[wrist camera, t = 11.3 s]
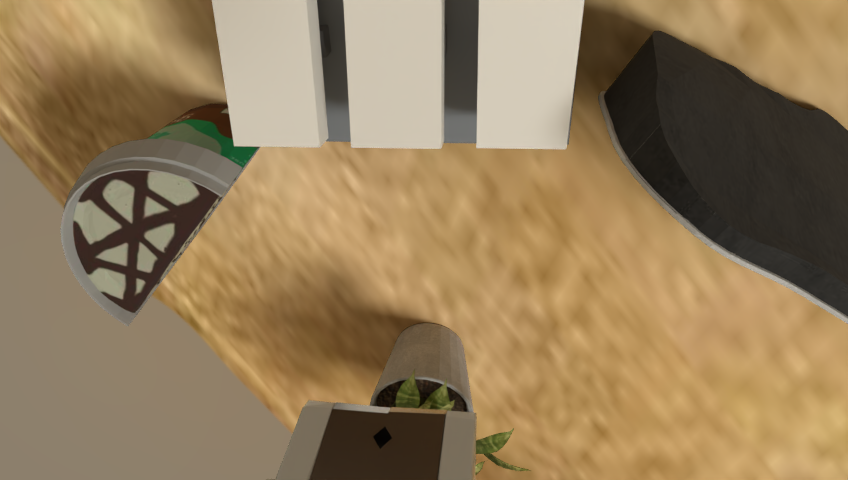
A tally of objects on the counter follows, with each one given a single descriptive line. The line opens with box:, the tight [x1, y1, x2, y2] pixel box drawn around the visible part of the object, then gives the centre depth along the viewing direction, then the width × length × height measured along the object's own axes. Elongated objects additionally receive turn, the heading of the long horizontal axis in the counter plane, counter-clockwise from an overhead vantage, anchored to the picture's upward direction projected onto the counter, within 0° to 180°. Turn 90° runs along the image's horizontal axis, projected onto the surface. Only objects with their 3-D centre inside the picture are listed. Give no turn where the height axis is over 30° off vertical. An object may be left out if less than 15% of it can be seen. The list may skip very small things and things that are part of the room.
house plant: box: [370, 323, 530, 475], centre depth 39 cm, size 14×14×16 cm
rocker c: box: [212, 0, 328, 147], centre depth 26 cm, size 8×4×2 cm, turn 2°
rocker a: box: [476, 0, 584, 149], centre depth 25 cm, size 8×4×2 cm, turn 2°
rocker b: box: [343, 0, 445, 149], centre depth 25 cm, size 8×4×2 cm, turn 2°
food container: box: [61, 104, 260, 326], centre depth 34 cm, size 12×6×10 cm, turn 141°
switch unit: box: [317, 0, 585, 145], centre depth 29 cm, size 10×16×6 cm, turn 92°
